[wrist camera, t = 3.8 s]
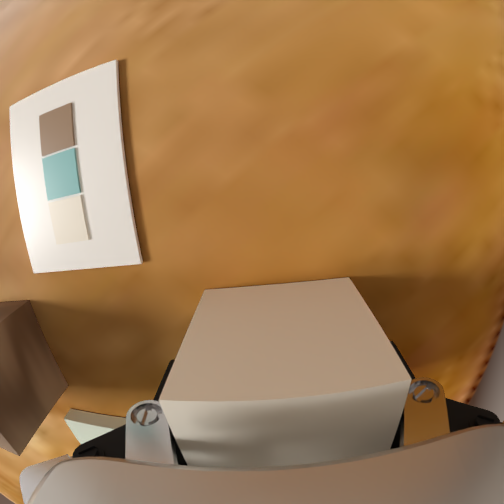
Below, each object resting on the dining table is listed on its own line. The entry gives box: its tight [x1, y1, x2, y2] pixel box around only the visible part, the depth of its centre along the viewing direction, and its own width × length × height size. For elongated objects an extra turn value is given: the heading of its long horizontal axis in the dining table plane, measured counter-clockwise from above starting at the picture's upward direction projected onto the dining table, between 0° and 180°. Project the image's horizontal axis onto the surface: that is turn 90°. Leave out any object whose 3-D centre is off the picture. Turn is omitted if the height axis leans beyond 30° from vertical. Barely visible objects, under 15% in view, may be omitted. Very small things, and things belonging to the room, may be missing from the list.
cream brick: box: [159, 277, 412, 467], centre depth 9 cm, size 6×6×6 cm
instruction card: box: [10, 60, 143, 273], centre depth 10 cm, size 8×6×1 cm
